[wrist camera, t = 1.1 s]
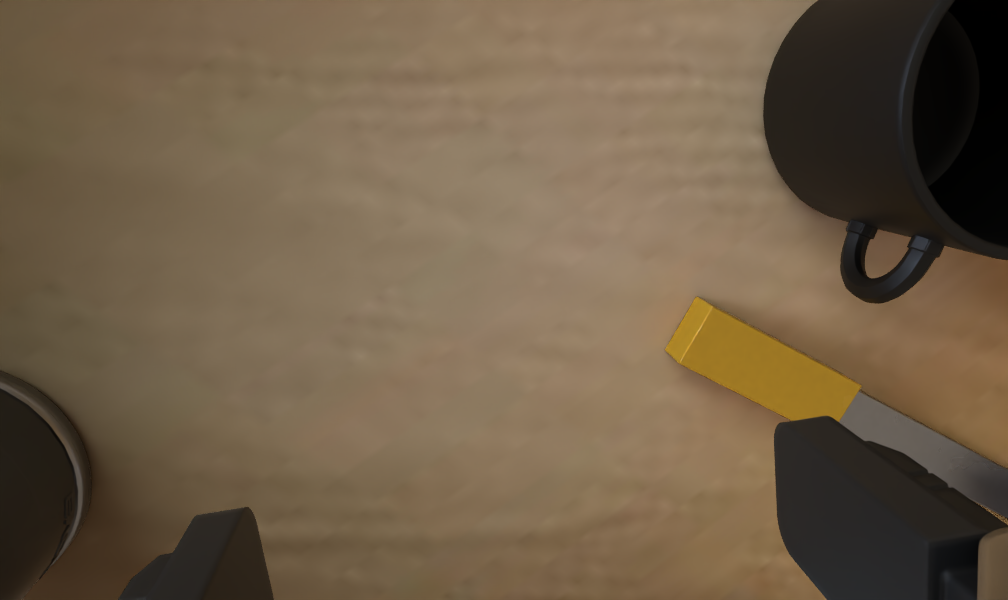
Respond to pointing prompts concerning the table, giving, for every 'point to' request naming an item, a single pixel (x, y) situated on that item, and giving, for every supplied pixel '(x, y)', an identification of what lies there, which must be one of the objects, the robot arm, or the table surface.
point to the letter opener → (824, 398)
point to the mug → (896, 128)
